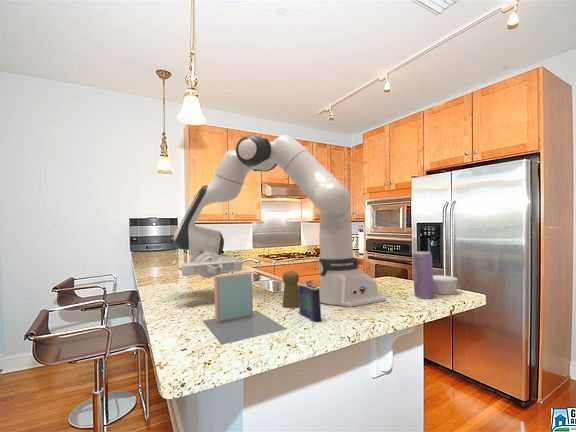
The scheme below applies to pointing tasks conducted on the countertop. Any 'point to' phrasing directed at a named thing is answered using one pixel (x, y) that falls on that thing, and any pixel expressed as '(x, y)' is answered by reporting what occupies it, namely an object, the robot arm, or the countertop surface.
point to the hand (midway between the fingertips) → (218, 269)
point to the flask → (309, 301)
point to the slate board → (243, 328)
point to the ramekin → (444, 284)
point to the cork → (291, 290)
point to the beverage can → (423, 275)
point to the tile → (233, 296)
